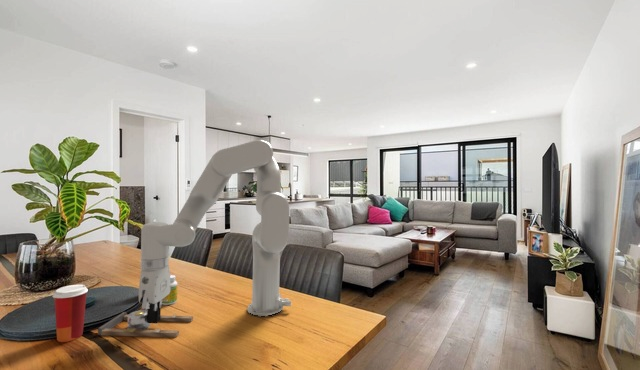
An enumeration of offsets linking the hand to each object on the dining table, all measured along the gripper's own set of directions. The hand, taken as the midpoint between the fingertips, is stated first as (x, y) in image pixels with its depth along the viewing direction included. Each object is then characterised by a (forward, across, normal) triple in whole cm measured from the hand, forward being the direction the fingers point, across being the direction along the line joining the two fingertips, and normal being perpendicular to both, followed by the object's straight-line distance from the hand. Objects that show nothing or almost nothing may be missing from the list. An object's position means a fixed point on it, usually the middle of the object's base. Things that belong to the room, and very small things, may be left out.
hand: (153, 321), depth 91 cm
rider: (+2, 0, +5) cm, 5 cm away
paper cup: (+2, -7, +20) cm, 21 cm away
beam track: (+2, 0, +1) cm, 2 cm away
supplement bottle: (+2, +19, +5) cm, 20 cm away
